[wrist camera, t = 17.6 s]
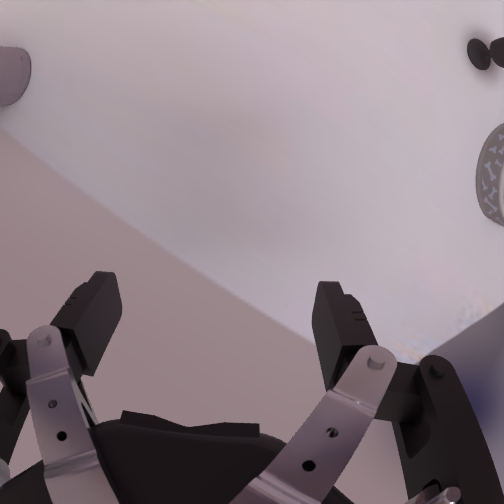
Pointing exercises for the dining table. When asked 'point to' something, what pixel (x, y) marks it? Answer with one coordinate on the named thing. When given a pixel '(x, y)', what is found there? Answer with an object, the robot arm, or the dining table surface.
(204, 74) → the dining table surface
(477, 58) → the sundae
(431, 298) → the dining table surface
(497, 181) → the dog bowl
